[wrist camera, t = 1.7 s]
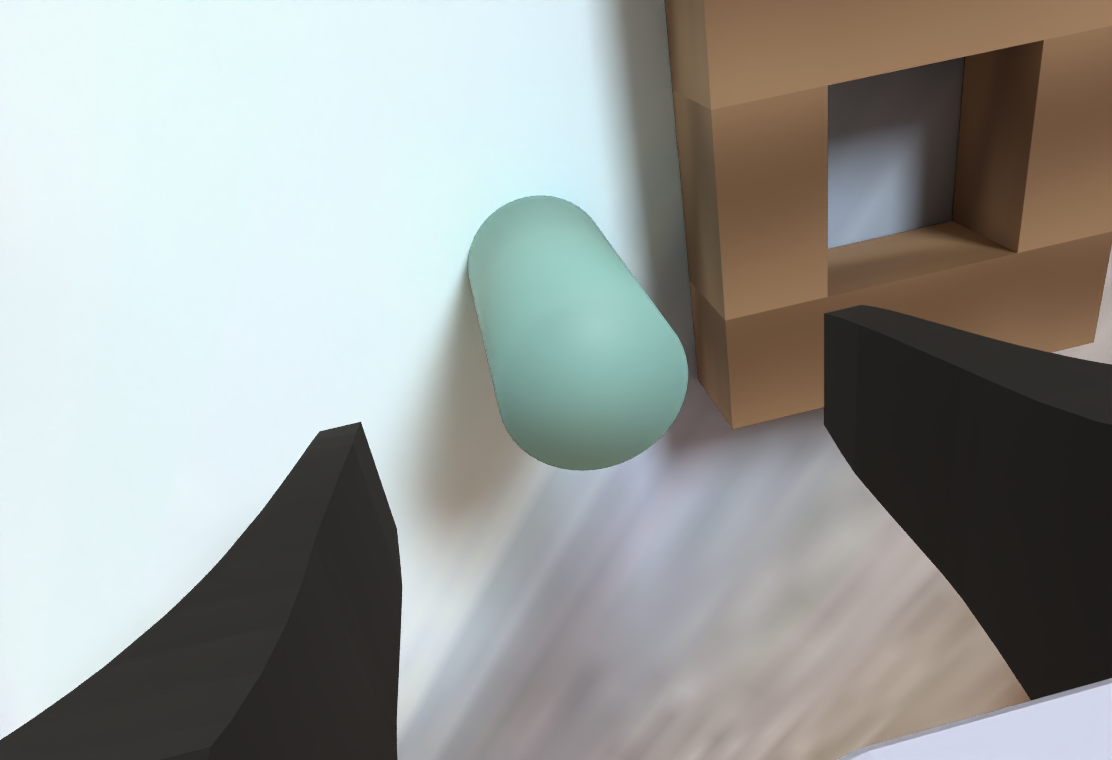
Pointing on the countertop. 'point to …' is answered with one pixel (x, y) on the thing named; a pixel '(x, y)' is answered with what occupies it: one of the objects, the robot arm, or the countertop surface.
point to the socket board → (904, 258)
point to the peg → (571, 338)
